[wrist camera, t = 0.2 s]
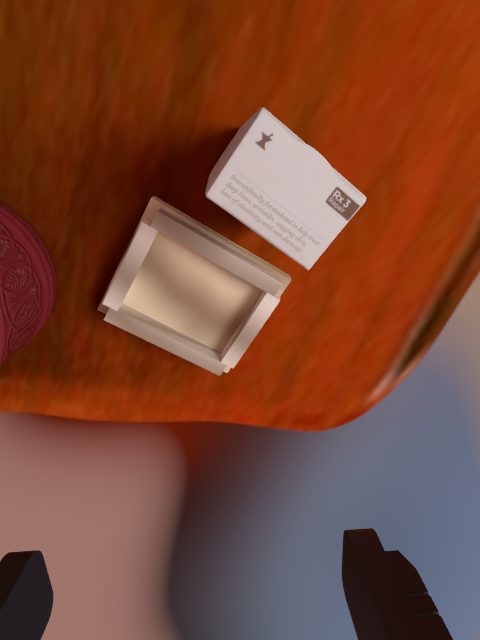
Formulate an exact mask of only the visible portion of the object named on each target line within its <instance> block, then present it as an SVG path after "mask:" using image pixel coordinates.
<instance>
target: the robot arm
mask: <svg viewBox="0 0 480 640" xmlns="http://www.w3.org/2000/svg"><path fill="white" fill-rule="evenodd" d="M342 555H343V556H342V581H343V588H344V593H345V597H346V601H347V604H348V608H349V611H350V614H351V617H352V621H353V624H354V627H355V631H356V634H357V637H358V640H453V639H452V637H451V635H450V633H449V631H448V629H447V627H446V625H445V623H444V621H443V619H442V618H441V616H439V614H438V610H437V608H436V606H435V604H434V602H433V600H432V598H431V597H430V596H429V595H428V591H427V589H426V587H425V585H424V583H423V581H422V579H421V577H420V575H419V573H418V572H417V570H416V568H415V567H414V566H413V565H412V564H411V563H410V562H409V561H408V560H407V559H406V558H405V557H404V556H403V555H402V554H401V553H400V552H399V551H398V550H397V551H384V549H383V546H382V544H381V542H380V540H379V538H378V536H377V534H376V532H375V531H374V530H373V529H372V528H370V529H357V530H345V531H344V535H343V554H342ZM52 606H53V590H52V586H51V583H50V579H49V575H48V572H47V568H46V565H45V561H44V558H43V554H42V553H41V551H23V552H10V553H8V554H6V555H5V556H4V557H3V558H2V560H1V561H0V640H41V637H42V635H43V633H44V630H45V628H46V626H47V623H48V621H49V618H50V615H51V611H52Z"/></svg>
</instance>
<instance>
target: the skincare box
mask: <svg viewBox="0 0 480 640" xmlns="http://www.w3.org/2000/svg"><path fill="white" fill-rule="evenodd" d="M205 195H206V197H207V198H208V199H210V200H211V201H213V202H214V203H215V204H217V205H218V206H220V207H221V208H222V209H224V210H225V211H227V212H228V213H229V214H231V215H232V216H234V217H235V218H236V219H238V220H239V221H240V222H242V223H243V224H245V225H246V226H247V227H249V228H250V229H251V230H253V231H254V232H256V233H257V234H258V235H260V236H261V237H262V238H264V239H265V240H267V241H268V242H269V243H271V244H272V245H273V246H275V247H276V248H278V249H279V250H280V251H282V252H283V253H285V254H286V255H287V256H289V257H290V258H292V259H293V260H294V261H296V262H297V263H299V264H300V265H302V266H303V267H304V268H306V269H307V270H309V269H310V268H311V267H312V266H313V264H314V263H315V262H316V261H317V259H318V258H319V257H320V256H321V255H322V253H323V252H324V251H325V250H326V248H327V247H328V246H329V245H330V243H331V242H332V241H333V240H334V239H335V237H336V236H337V235H338V234H339V232H340V231H341V230H342V229H343V228H344V227H345V225H346V224H347V223H348V222H349V221H350V219H351V218H352V217H353V216H354V215H355V213H356V212H357V211H358V210H359V209H360V208H361V206H362V205H363V204H364V203H365V201H366V197H365V196H364V195H363V194H362V193H361V192H360V191H359V190H358V189H356V188H355V187H354V186H353V185H352V184H351V183H350V182H348V181H347V180H346V179H345V178H344V177H343V176H342V175H341V174H339V173H338V172H337V171H336V170H335V169H334V168H333V167H331V165H330V164H329V163H328V162H327V160H326V159H325V158H324V157H323V156H322V155H321V154H319V153H318V152H317V151H316V150H315V149H314V148H312V147H311V146H309V145H307V144H306V143H304V142H303V141H302V140H301V139H300V138H299V137H297V136H296V135H295V134H294V133H293V132H292V131H291V130H289V129H288V128H287V127H286V126H285V125H284V124H283V123H281V122H280V121H279V120H278V119H277V118H275V117H274V116H273V115H272V114H271V113H270V112H269V111H267V110H266V109H265V108H260V109H259V111H258V112H256V113H255V114H254V115H253V116H252V117H250V118H249V119H248V120H247V121H246V122H245V123H244V124H243V125H242V126H241V127H240V128H239V130H238V131H237V133H236V134H235V136H234V137H233V139H232V140H231V142H230V143H229V145H228V146H227V148H226V149H225V151H224V152H223V154H222V155H221V157H220V158H219V160H218V161H217V163H216V165H215V166H214V168H213V169H212V171H211V173H210V174H209V179H208V183H207V187H206V191H205Z"/></svg>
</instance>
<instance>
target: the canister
mask: <svg viewBox="0 0 480 640" xmlns="http://www.w3.org/2000/svg"><path fill="white" fill-rule="evenodd" d="M56 295H57V277H56V271H55V267H54V264H53V261H52V258H51V256H50V254H49V251H48V250H47V248H46V246H45V244H44V243H43V241H42V239H41V238H40V237H39V235H38V234H37V233H36V231H35V230H34V229H33V228H32V227H31V226H30V224H29V223H28V222H27V221H26V220H25V219H23V218H22V217H21V216H20V215H19V214H18V213H16V212H15V211H14V210H12V209H11V208H10V207H8V206H7V205H5V204H4V203H2V202H0V366H1V365H2V364H3V363H4V362H6V361H7V360H8V359H9V358H10V357H11V356H12V355H13V354H14V353H15V352H16V351H17V350H18V349H20V348H22V347H23V346H25V345H26V344H27V343H29V342H30V341H31V340H32V339H33V338H34V337H35V336H36V335H37V334H38V333H39V332H40V331H41V329H42V328H43V327H44V325H45V324H46V322H47V320H48V318H49V316H50V313H51V311H52V309H53V307H54V304H55V300H56Z"/></svg>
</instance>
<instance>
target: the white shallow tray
mask: <svg viewBox="0 0 480 640" xmlns="http://www.w3.org/2000/svg"><path fill="white" fill-rule="evenodd" d="M291 280H292V279H291V277H290V275H288V274H286V273H285V272H283V271H281V270H279V269H278V268H276V267H274V266H273V265H271V264H269V263H268V262H266V261H264V260H263V259H261V258H259V257H257V256H256V255H254V254H252V253H251V252H249V251H247V250H246V249H244V248H242V247H241V246H239V245H237V244H235V243H234V242H232V241H230V240H229V239H227V238H225V237H224V236H222V235H220V234H218V233H217V232H215V231H213V230H212V229H210V228H208V227H207V226H205V225H203V224H202V223H200V222H198V221H196V220H195V219H193V218H191V217H190V216H188V215H186V214H185V213H183V212H181V211H179V210H178V209H176V208H174V207H173V206H171V205H169V204H168V203H166V202H164V201H163V200H161V199H159V198H157V197H156V196H152V197H151V199H150V201H149V203H148V205H147V207H146V209H145V212H144V214H143V216H142V218H141V220H140V222H139V224H138V226H137V228H136V230H135V232H134V234H133V237H132V239H131V241H130V243H129V245H128V247H127V249H126V251H125V253H124V255H123V257H122V259H121V261H120V264H119V266H118V268H117V270H116V272H115V274H114V276H113V278H112V280H111V282H110V284H109V286H108V288H107V291H106V293H105V295H104V297H103V299H102V301H101V303H100V305H99V307H98V309H97V310H98V311H100V312H102V313H105V314H106V316H105V318H104V320H105V321H107V322H109V323H111V324H113V325H115V326H117V327H119V328H121V329H123V330H125V331H127V332H129V333H132V334H134V335H136V336H138V337H140V338H142V339H144V340H146V341H148V342H150V343H152V344H154V345H156V346H158V347H161V348H163V349H165V350H167V351H169V352H171V353H173V354H175V355H177V356H179V357H181V358H183V359H185V360H188V361H190V362H192V363H194V364H196V365H198V366H200V367H202V368H204V369H206V370H208V371H210V372H212V373H215V374H217V375H219V376H220V375H221V374H222V372H223V371H224V372H226V373H228V372H229V370H230V369H231V368H234V367H235V365H236V364H237V362H238V361H239V360H240V358H241V357H242V355H243V354H244V352H245V351H246V349H247V348H248V347H249V345H250V344H251V342H252V341H253V339H254V338H255V336H256V335H257V333H258V332H259V331H260V329H261V328H262V326H263V325H264V323H265V322H266V320H267V319H268V318H269V316H270V315H271V313H272V312H273V310H274V309H275V307H276V306H277V305H278V303H279V302H280V298H279V297H280V296H281V294H282V293H283V291H284V290H285V289H286V287H287V286H288V284H289V283H290V281H291Z"/></svg>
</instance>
